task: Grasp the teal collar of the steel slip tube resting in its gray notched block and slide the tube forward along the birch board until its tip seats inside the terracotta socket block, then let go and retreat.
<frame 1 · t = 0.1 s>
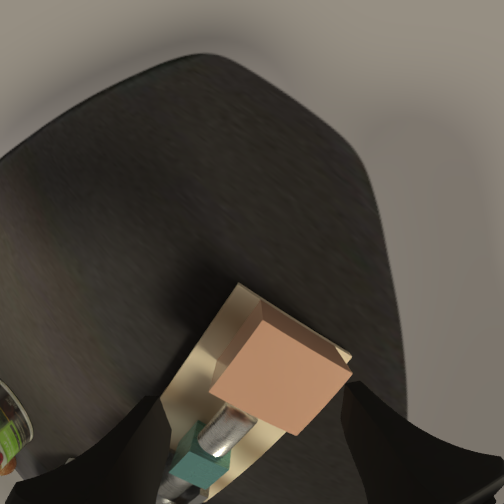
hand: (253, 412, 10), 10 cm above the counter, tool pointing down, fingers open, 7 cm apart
gray notched block: (175, 466, 22), resting on board
coffee can: (5, 407, 22), on the counter
board: (216, 421, 21), on the counter
socket: (275, 350, 21), resting on board
tube: (191, 465, 18), point 3 cm above the counter, slide at 0.0 cm
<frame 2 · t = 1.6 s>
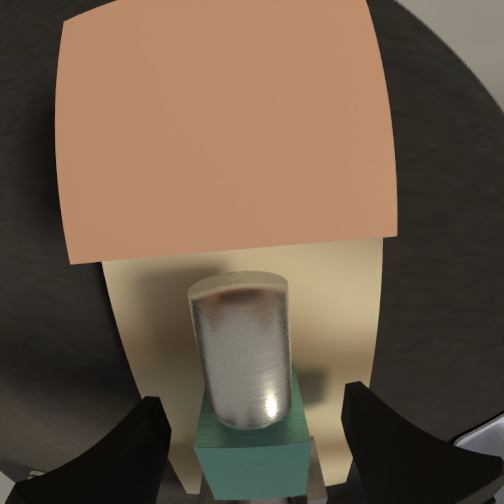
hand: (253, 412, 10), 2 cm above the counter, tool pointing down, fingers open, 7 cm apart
gray notched block: (262, 461, 13), resting on board
board: (250, 351, 11), on the counter
socket: (229, 135, 9), resting on board
tube: (258, 460, 9), point 3 cm above the counter, slide at 0.0 cm
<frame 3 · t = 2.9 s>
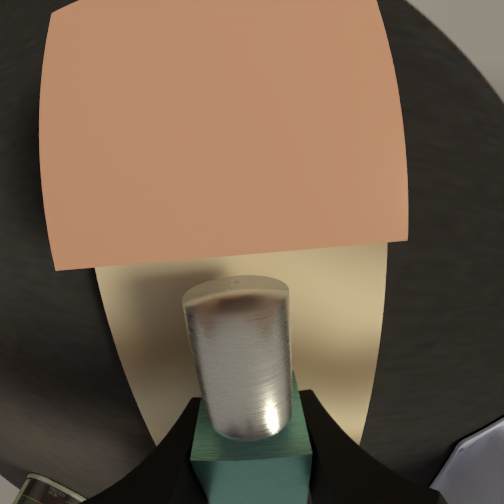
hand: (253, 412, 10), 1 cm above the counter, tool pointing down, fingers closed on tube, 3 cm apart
coffee can: (70, 500, 16), on the counter
board: (249, 357, 11), on the counter
socket: (226, 132, 9), resting on board
tube: (258, 469, 9), point 3 cm above the counter, slide at 0.0 cm, touching gripper
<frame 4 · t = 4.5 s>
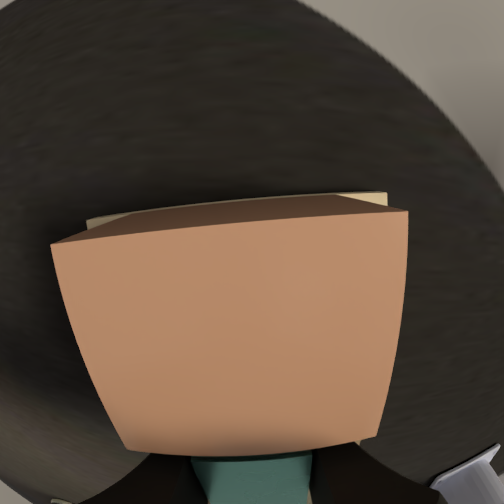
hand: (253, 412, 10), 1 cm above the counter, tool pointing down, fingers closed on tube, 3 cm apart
board: (258, 436, 12), on the counter
socket: (240, 280, 10), resting on board
tube: (258, 469, 9), point 3 cm above the counter, slide at 4.9 cm, touching gripper
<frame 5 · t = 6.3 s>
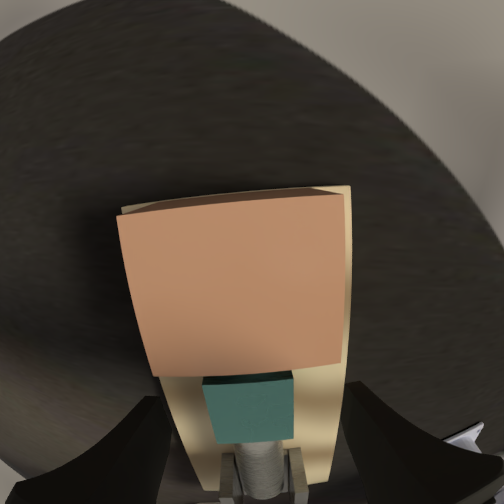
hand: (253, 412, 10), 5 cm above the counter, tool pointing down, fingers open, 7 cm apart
gray notched block: (263, 464, 18), resting on board
board: (254, 392, 16), on the counter
socket: (239, 253, 13), resting on board
tube: (254, 411, 12), point 3 cm above the counter, slide at 4.9 cm
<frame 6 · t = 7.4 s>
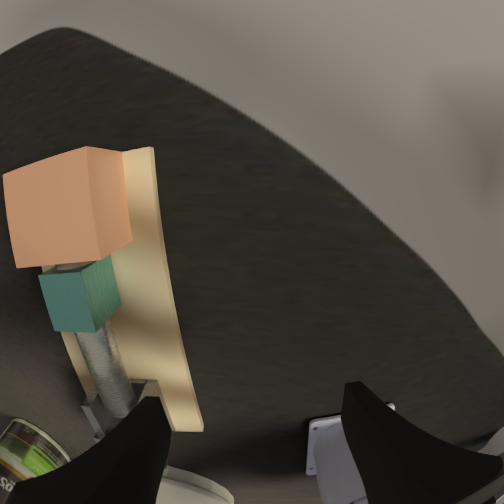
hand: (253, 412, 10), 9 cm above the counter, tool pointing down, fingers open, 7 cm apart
gray notched block: (140, 399, 21), resting on board
coffee can: (40, 443, 24), on the counter
board: (112, 317, 19), on the counter
lid: (163, 487, 26), on the counter
socket: (89, 202, 17), resting on board
tube: (88, 317, 16), point 3 cm above the counter, slide at 4.9 cm
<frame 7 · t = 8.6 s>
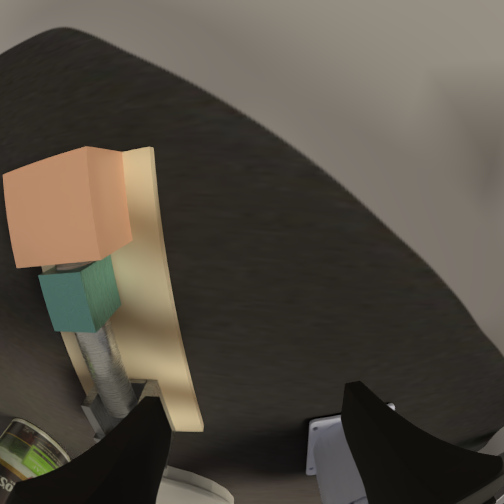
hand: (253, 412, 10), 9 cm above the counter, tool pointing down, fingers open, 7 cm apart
gray notched block: (140, 399, 21), resting on board
coffee can: (40, 443, 24), on the counter
board: (112, 317, 19), on the counter
lid: (163, 487, 26), on the counter
socket: (89, 202, 17), resting on board
tube: (88, 317, 16), point 3 cm above the counter, slide at 4.9 cm
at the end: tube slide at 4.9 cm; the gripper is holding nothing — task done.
